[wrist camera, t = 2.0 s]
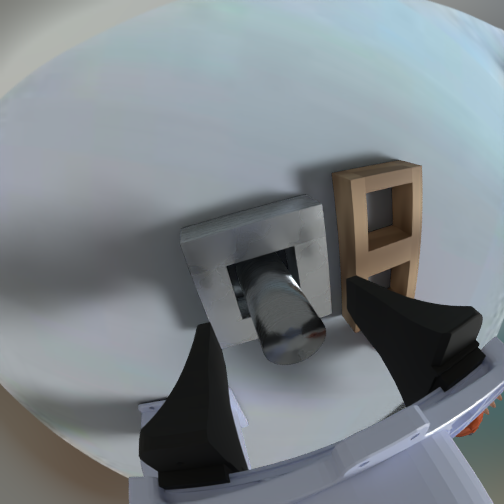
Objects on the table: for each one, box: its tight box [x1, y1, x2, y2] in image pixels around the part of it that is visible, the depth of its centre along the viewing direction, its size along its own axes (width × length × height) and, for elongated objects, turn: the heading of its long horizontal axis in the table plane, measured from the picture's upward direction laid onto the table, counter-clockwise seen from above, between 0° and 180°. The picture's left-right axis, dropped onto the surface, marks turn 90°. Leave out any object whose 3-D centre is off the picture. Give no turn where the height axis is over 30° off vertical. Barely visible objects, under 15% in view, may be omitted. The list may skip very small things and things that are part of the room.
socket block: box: [180, 194, 332, 349], centre depth 18 cm, size 8×8×2 cm
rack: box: [332, 160, 422, 333], centre depth 19 cm, size 12×6×2 cm, turn 13°
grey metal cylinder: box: [236, 252, 326, 365], centre depth 15 cm, size 3×3×8 cm
